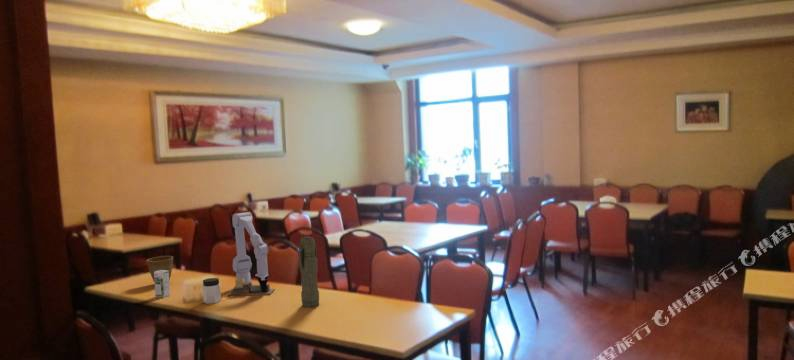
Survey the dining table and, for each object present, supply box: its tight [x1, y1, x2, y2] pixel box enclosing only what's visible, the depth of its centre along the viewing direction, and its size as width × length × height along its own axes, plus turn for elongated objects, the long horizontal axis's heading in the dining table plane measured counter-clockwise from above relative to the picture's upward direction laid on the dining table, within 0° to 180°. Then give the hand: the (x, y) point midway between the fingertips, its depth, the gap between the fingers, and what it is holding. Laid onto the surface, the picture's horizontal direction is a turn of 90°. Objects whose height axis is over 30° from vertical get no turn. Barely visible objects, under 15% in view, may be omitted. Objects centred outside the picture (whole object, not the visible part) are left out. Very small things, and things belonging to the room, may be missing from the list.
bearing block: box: [226, 281, 276, 297], centre depth 326 cm, size 10×24×6 cm, turn 89°
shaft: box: [233, 283, 271, 292], centre depth 326 cm, size 3×19×3 cm, turn 89°
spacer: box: [234, 277, 245, 287], centre depth 326 cm, size 4×4×4 cm
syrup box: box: [153, 270, 171, 299], centre depth 327 cm, size 6×6×14 cm
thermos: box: [297, 236, 320, 308], centre depth 296 cm, size 9×12×35 cm
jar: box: [202, 277, 222, 305], centre depth 311 cm, size 9×8×12 cm
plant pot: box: [146, 255, 174, 284], centre depth 356 cm, size 15×15×16 cm
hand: (263, 290), depth 326 cm, fingers open, 4 cm apart
